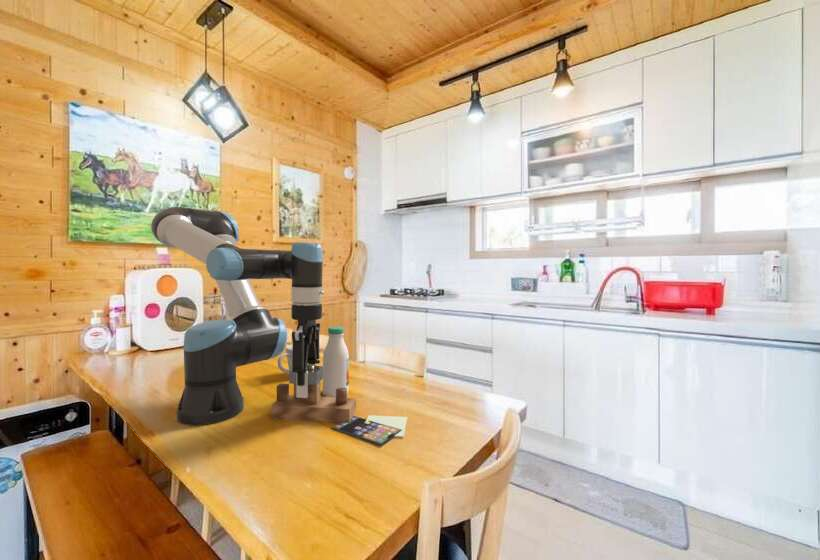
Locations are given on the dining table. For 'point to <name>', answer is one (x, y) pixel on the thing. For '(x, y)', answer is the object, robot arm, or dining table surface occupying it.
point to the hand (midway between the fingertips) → (306, 392)
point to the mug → (289, 357)
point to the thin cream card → (391, 422)
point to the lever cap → (309, 375)
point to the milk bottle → (335, 363)
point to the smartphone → (367, 430)
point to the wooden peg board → (313, 405)
